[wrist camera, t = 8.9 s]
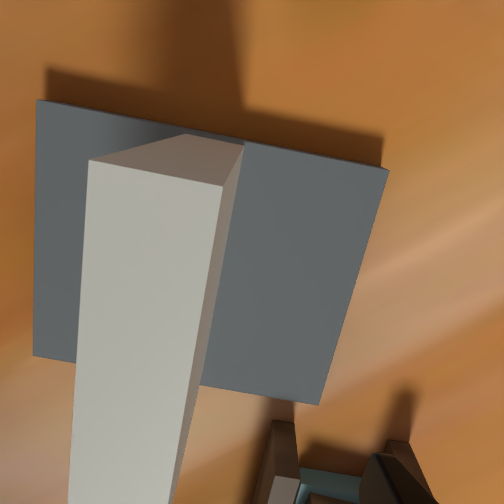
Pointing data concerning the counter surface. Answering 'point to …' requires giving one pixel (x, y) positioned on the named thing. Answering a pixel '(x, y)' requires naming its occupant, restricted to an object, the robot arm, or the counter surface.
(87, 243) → the board
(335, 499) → the offcut upper
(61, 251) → the mat
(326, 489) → the offcut lower
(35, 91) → the counter surface
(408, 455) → the rack
